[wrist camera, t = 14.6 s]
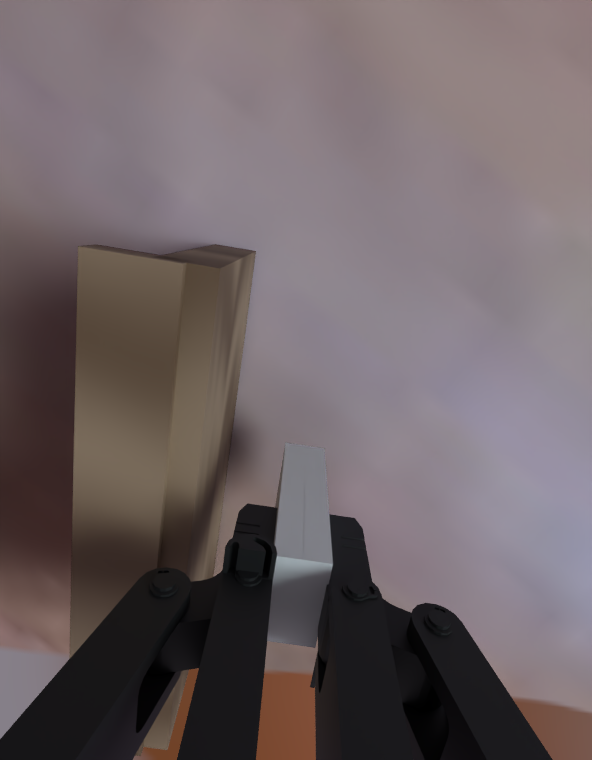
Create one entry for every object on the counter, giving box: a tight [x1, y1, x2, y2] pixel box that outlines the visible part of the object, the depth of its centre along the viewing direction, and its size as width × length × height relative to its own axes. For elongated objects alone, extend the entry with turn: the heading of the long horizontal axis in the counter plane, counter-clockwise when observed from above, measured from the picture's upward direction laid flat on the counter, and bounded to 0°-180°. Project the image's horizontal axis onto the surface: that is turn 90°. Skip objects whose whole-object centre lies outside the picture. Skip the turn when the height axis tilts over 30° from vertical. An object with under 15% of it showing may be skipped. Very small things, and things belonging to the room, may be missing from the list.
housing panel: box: [70, 244, 256, 756], centre depth 17 cm, size 16×3×8 cm, turn 171°
